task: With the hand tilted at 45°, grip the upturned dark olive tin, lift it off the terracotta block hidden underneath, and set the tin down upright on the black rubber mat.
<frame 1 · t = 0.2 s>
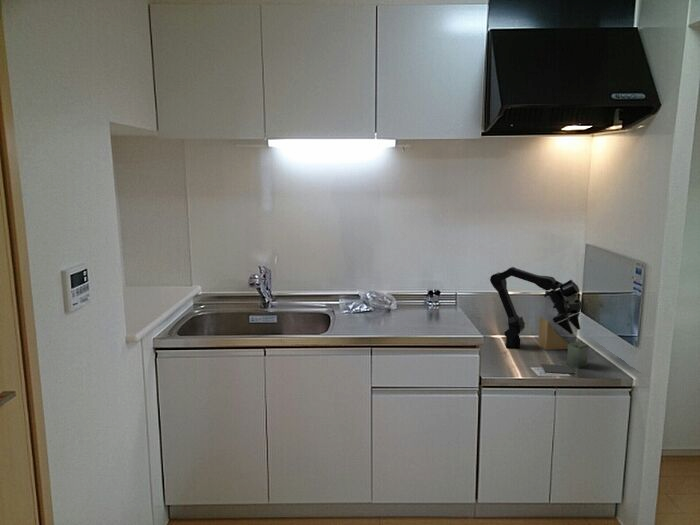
hand: (575, 331, 230), 14 cm above the countertop, tool tilted 35°, fingers open, 9 cm apart
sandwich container: (555, 347, 252), on the countertop
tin: (576, 365, 227), on the countertop
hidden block: (576, 361, 227), in the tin
mat: (557, 369, 222), on the countertop
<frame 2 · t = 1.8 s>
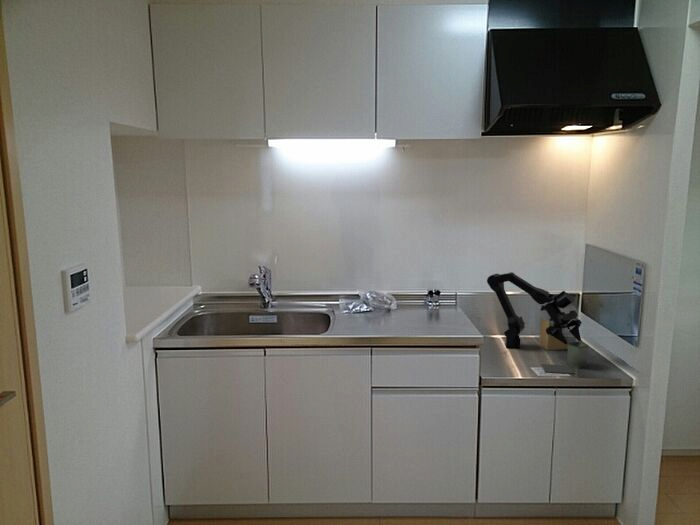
hand: (573, 342, 228), 10 cm above the countertop, tool tilted 45°, fingers open, 9 cm apart
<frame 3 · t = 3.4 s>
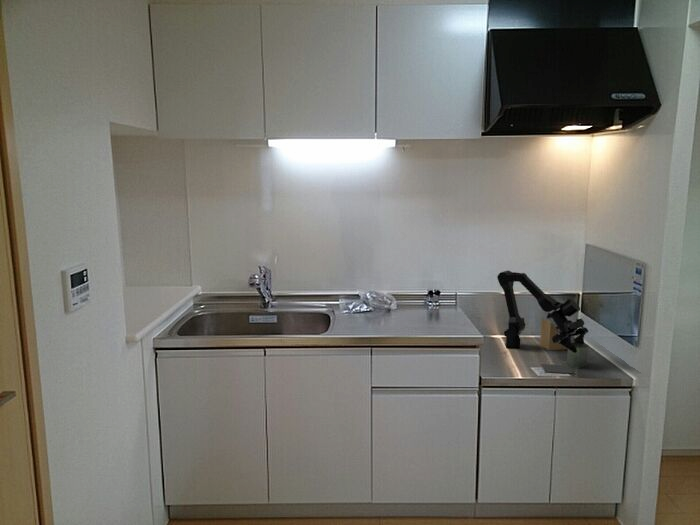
hand: (580, 351, 225), 7 cm above the countertop, tool tilted 45°, fingers closed on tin, 6 cm apart
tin: (576, 365, 227), on the countertop, touching gripper
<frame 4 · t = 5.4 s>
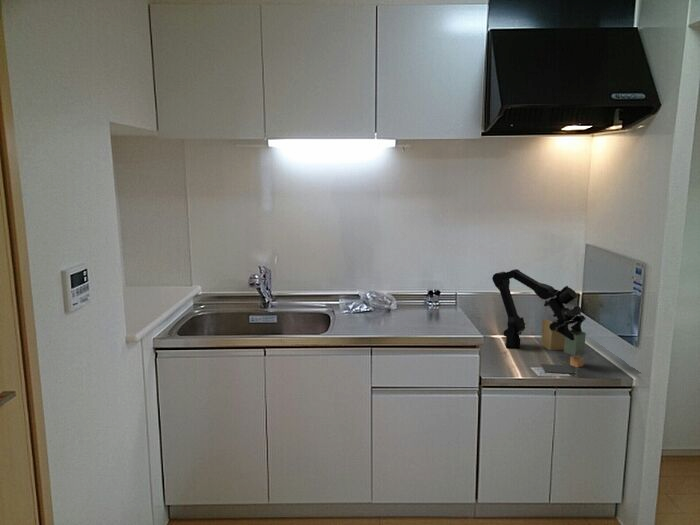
hand: (577, 339, 223), 13 cm above the countertop, tool tilted 45°, fingers closed on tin, 6 cm apart
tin: (573, 352, 225), point 6 cm above the countertop, touching gripper
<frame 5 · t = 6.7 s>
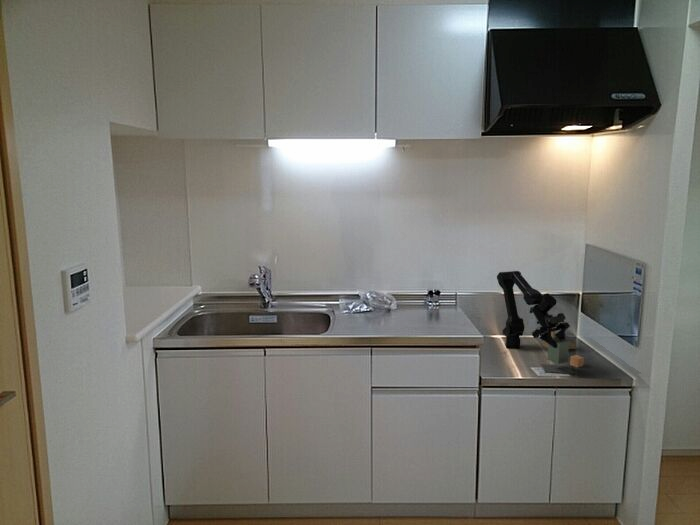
hand: (561, 346, 219), 11 cm above the countertop, tool tilted 45°, fingers closed on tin, 6 cm apart
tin: (557, 360, 221), point 4 cm above the countertop, touching gripper
when the fingers open (8 cm above the countertop, at t = 7.7 s): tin stays where it is, resting on mat.
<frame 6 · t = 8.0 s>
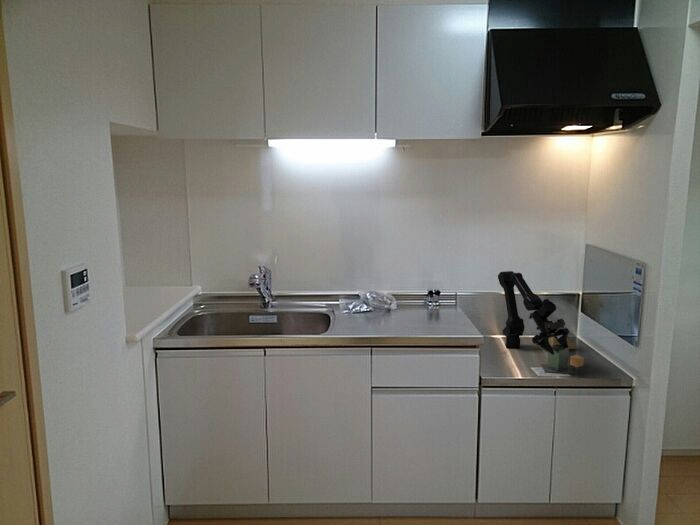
hand: (560, 352, 219), 9 cm above the countertop, tool tilted 45°, fingers open, 9 cm apart
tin: (557, 368, 222), resting on mat
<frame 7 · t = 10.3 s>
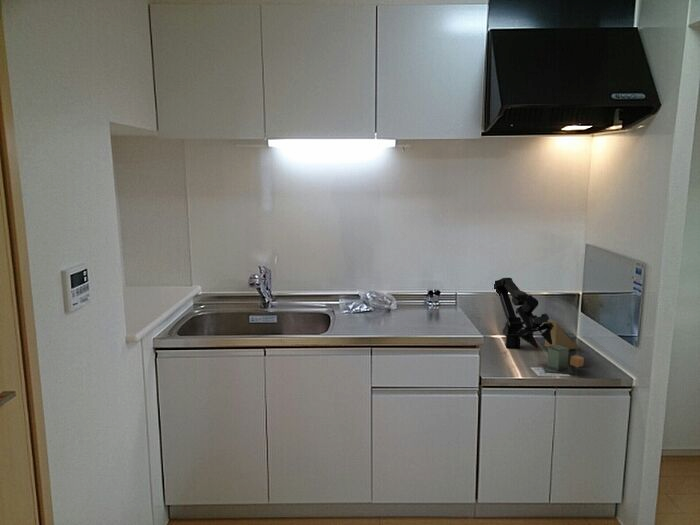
hand: (544, 346, 227), 9 cm above the countertop, tool tilted 45°, fingers open, 9 cm apart
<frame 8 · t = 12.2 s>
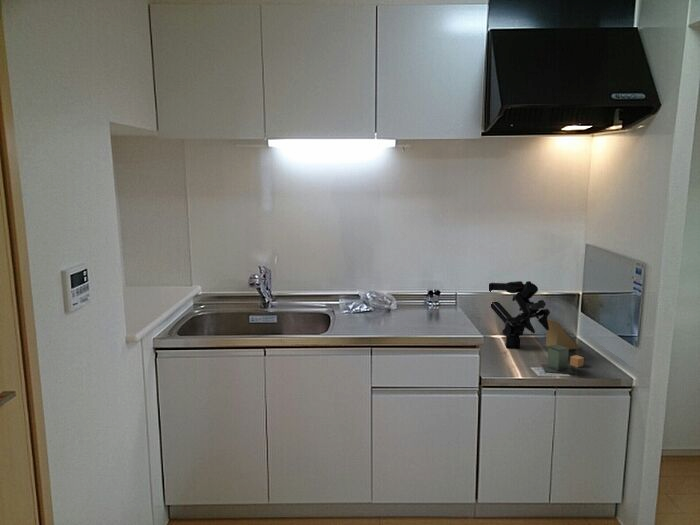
hand: (541, 331, 233), 14 cm above the countertop, tool tilted 45°, fingers open, 9 cm apart
at the end: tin inside the target area on the mat (0.0 cm from its centre), point 0.5 cm above the mat's base; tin tilted 0°; the gripper is holding nothing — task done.
